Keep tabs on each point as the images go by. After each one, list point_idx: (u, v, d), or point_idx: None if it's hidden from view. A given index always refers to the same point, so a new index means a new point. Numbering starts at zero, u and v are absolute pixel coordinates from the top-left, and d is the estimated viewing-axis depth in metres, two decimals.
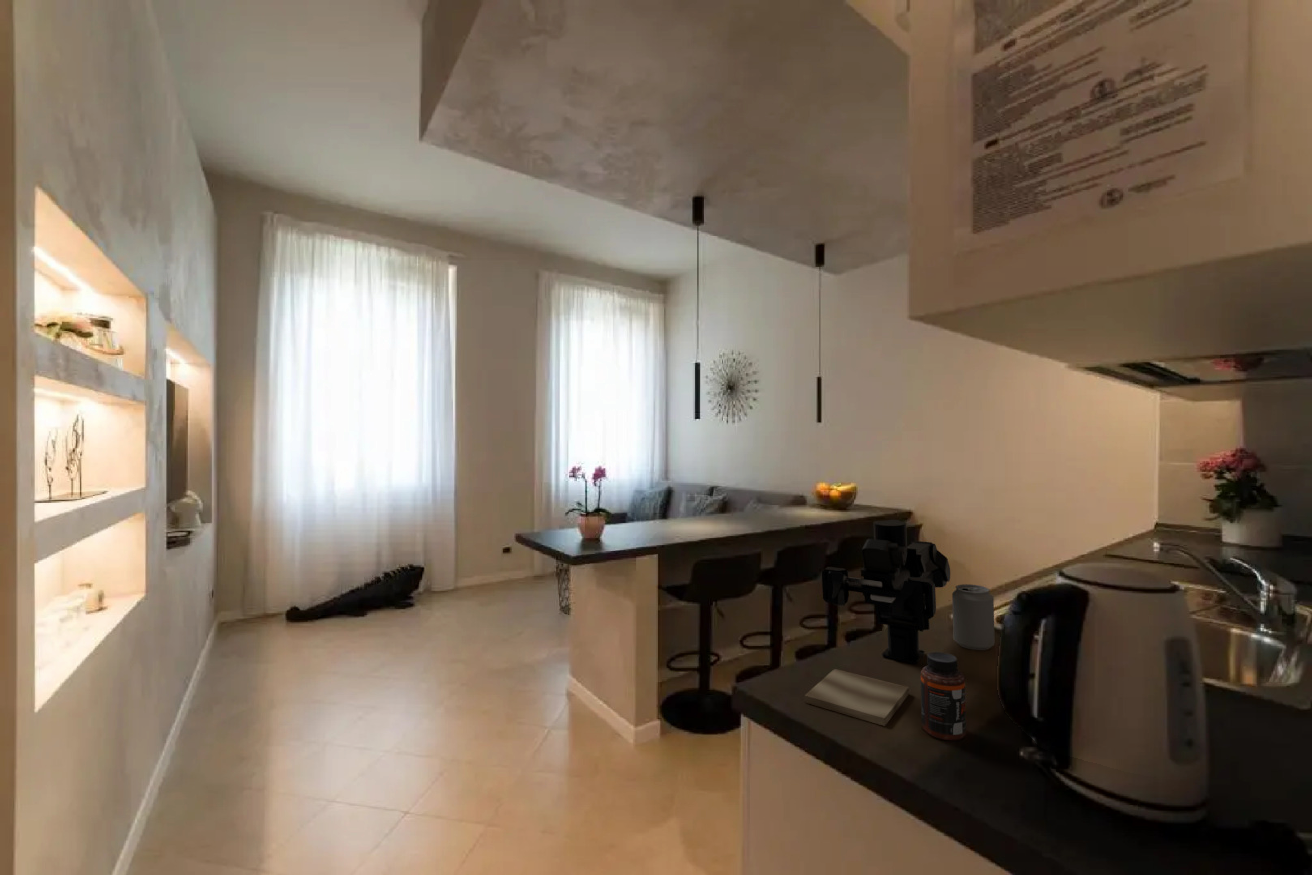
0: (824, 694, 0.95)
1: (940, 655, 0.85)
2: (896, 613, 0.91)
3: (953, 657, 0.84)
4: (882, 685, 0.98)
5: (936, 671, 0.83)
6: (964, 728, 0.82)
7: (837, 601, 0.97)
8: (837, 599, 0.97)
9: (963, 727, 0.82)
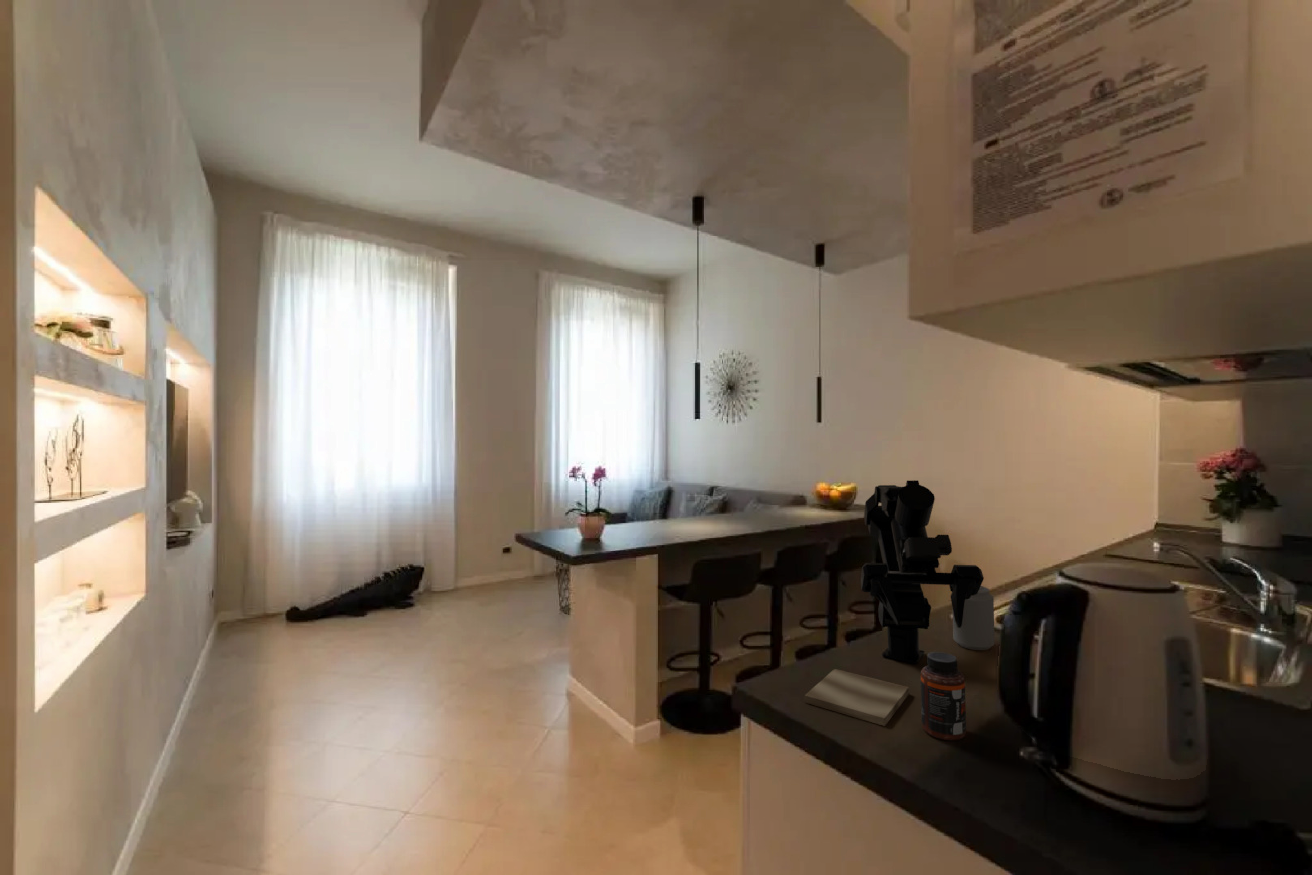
0: (824, 694, 0.95)
1: (940, 655, 0.85)
2: None
3: (953, 657, 0.84)
4: (882, 685, 0.98)
5: (936, 671, 0.83)
6: (964, 728, 0.82)
7: None
8: None
9: (963, 727, 0.82)
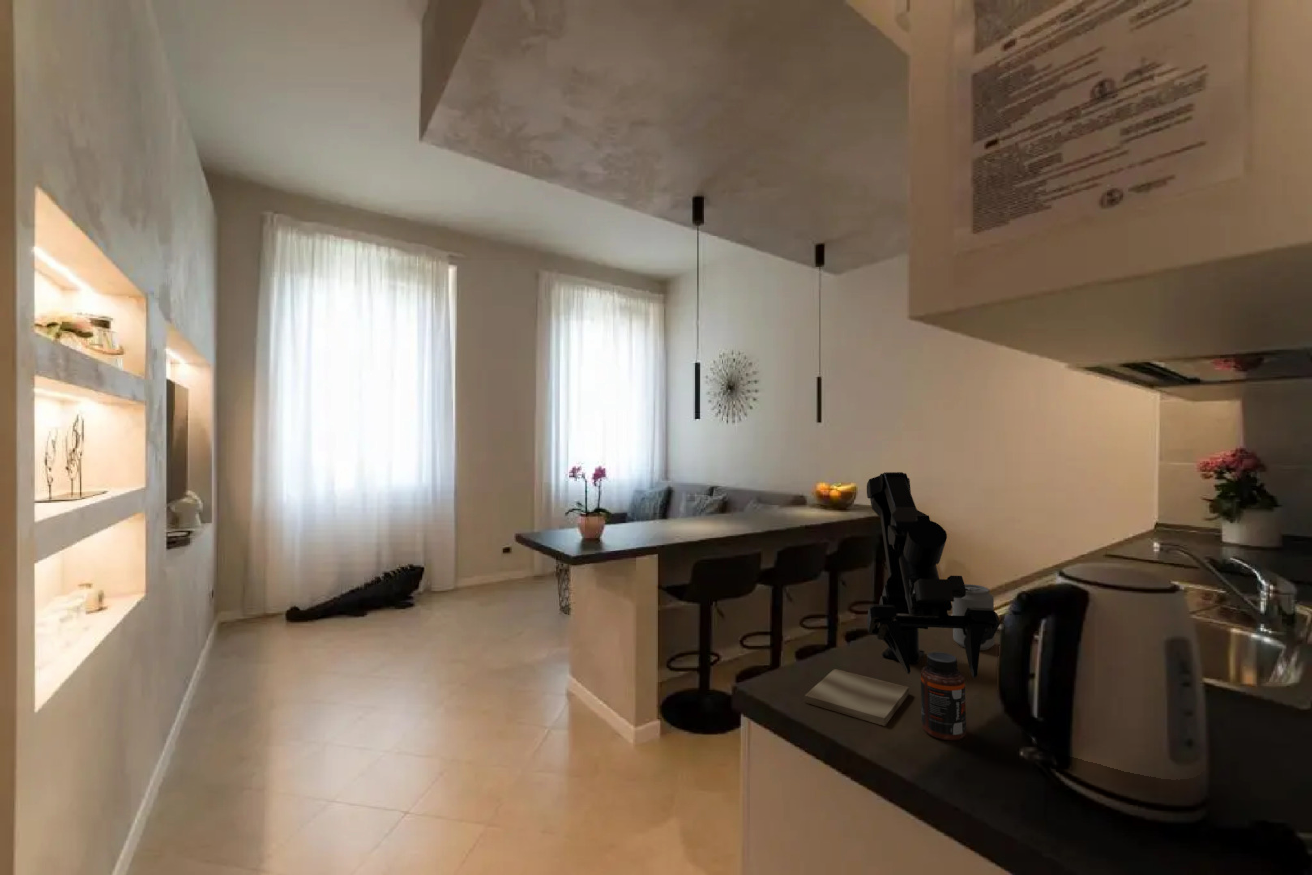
0: (824, 694, 0.95)
1: (940, 655, 0.85)
2: None
3: (953, 657, 0.84)
4: (882, 685, 0.98)
5: (936, 671, 0.83)
6: (964, 728, 0.82)
7: None
8: None
9: (963, 727, 0.82)
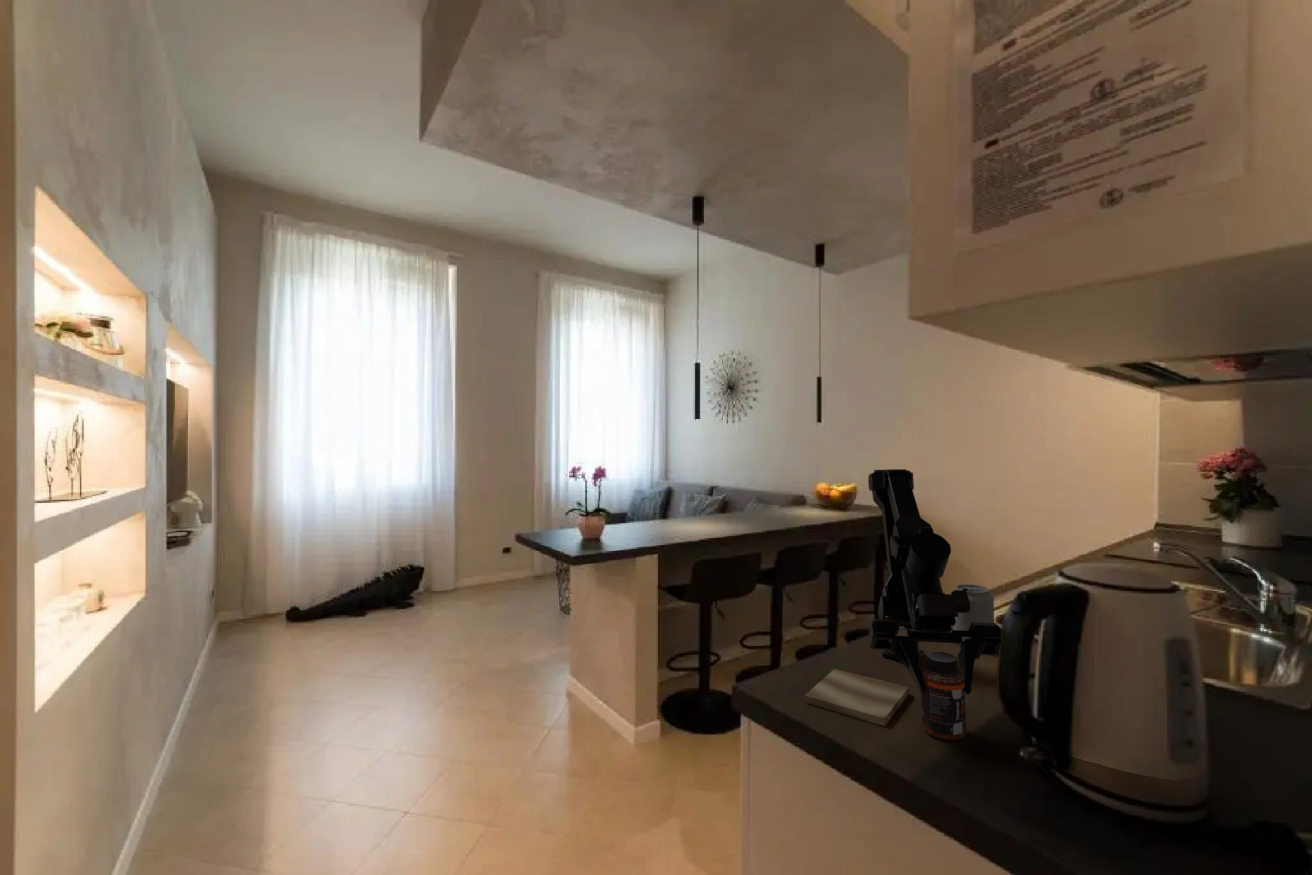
0: (824, 694, 0.95)
1: (940, 655, 0.85)
2: None
3: (953, 657, 0.84)
4: (882, 685, 0.98)
5: (936, 671, 0.83)
6: (964, 728, 0.82)
7: None
8: None
9: (963, 727, 0.82)
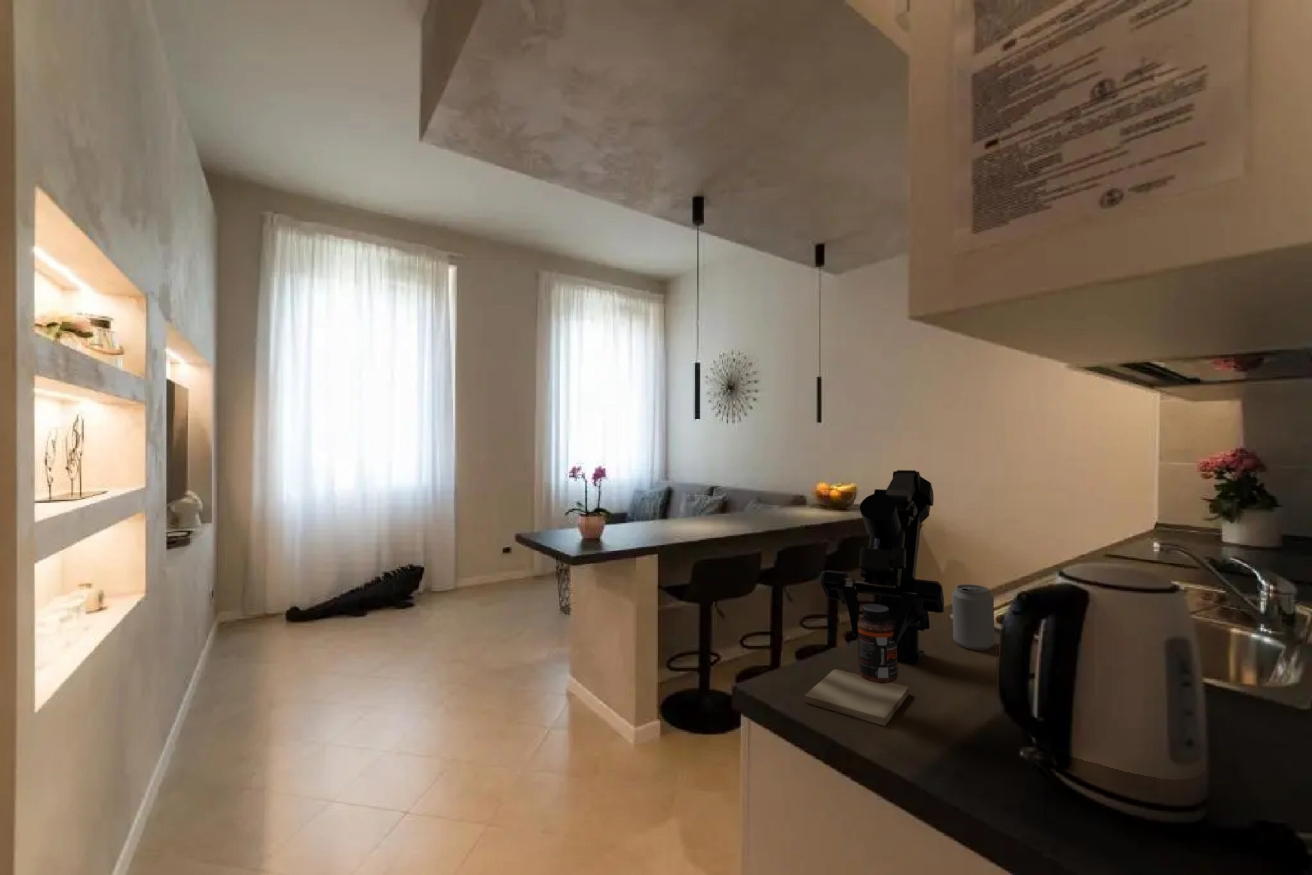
0: (824, 694, 0.95)
1: (875, 606, 0.92)
2: (901, 636, 0.90)
3: (885, 609, 0.90)
4: (882, 685, 0.98)
5: (866, 619, 0.91)
6: (891, 674, 0.89)
7: None
8: (856, 626, 0.93)
9: (890, 672, 0.89)
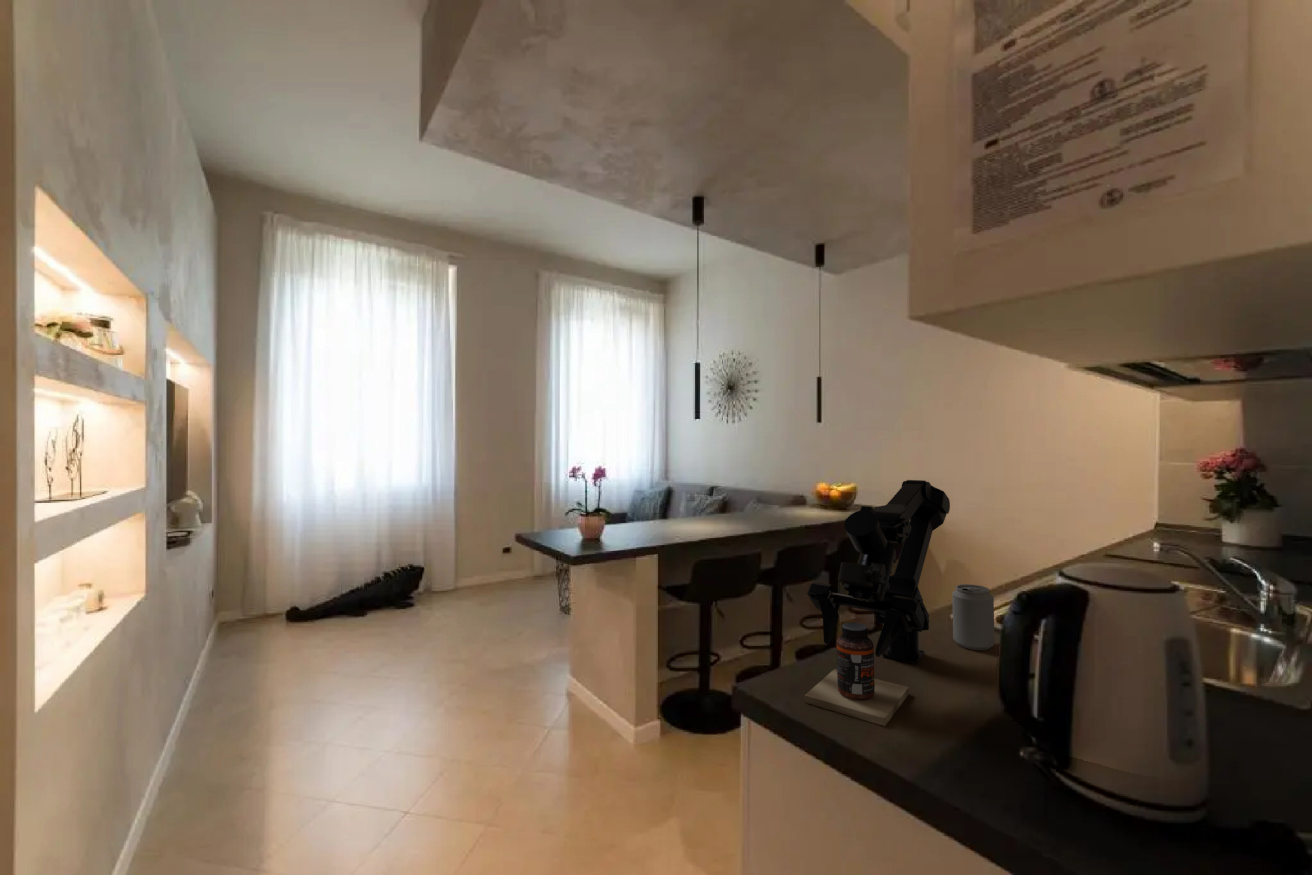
0: (824, 694, 0.95)
1: (854, 625, 0.95)
2: (883, 651, 0.92)
3: (863, 628, 0.94)
4: (882, 685, 0.98)
5: (843, 637, 0.95)
6: (865, 691, 0.92)
7: (829, 637, 0.98)
8: (829, 635, 0.98)
9: (864, 689, 0.92)
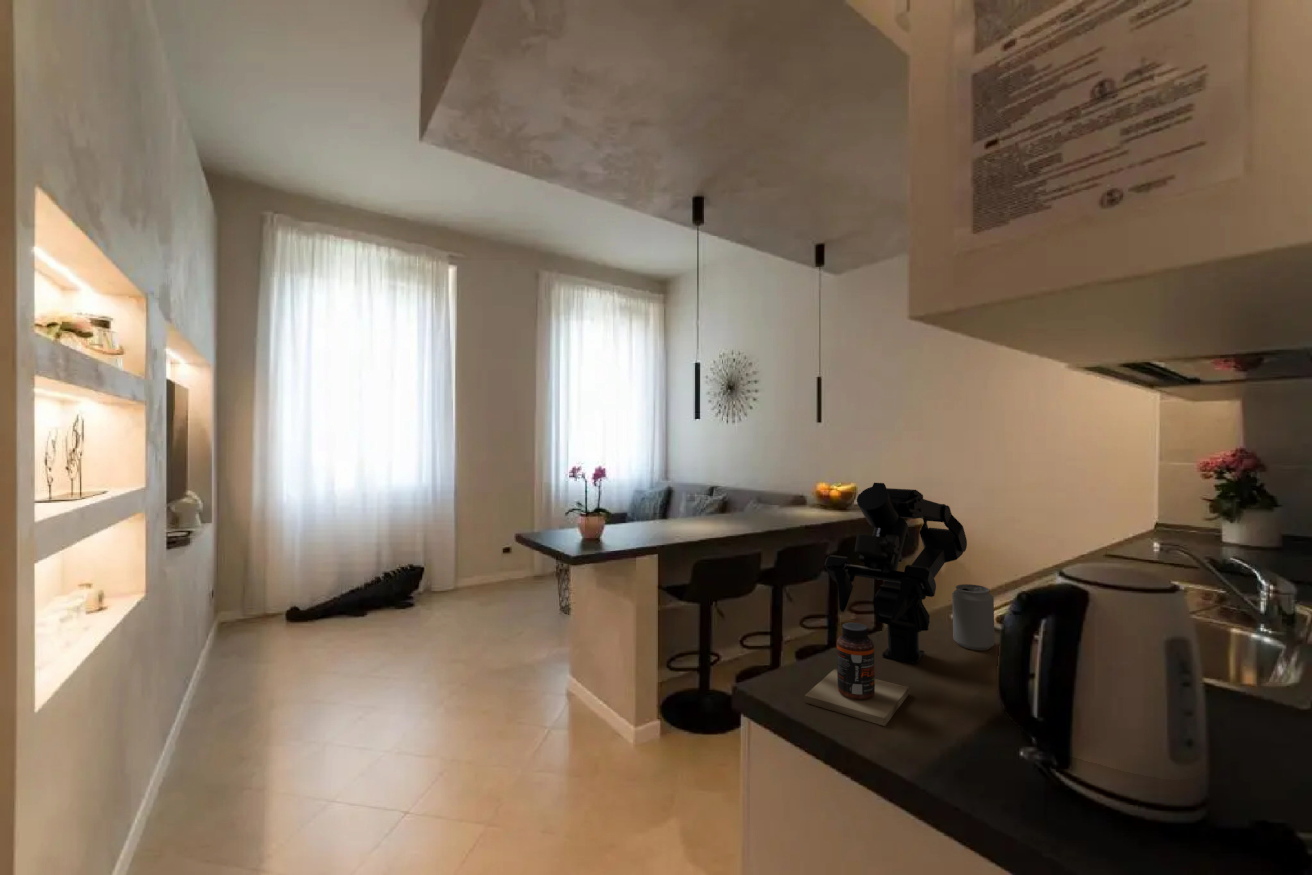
0: (824, 694, 0.95)
1: (854, 625, 0.95)
2: (899, 616, 0.98)
3: (863, 628, 0.94)
4: (882, 685, 0.98)
5: (844, 637, 0.95)
6: (865, 691, 0.92)
7: (845, 605, 1.04)
8: (844, 603, 1.04)
9: (864, 689, 0.92)
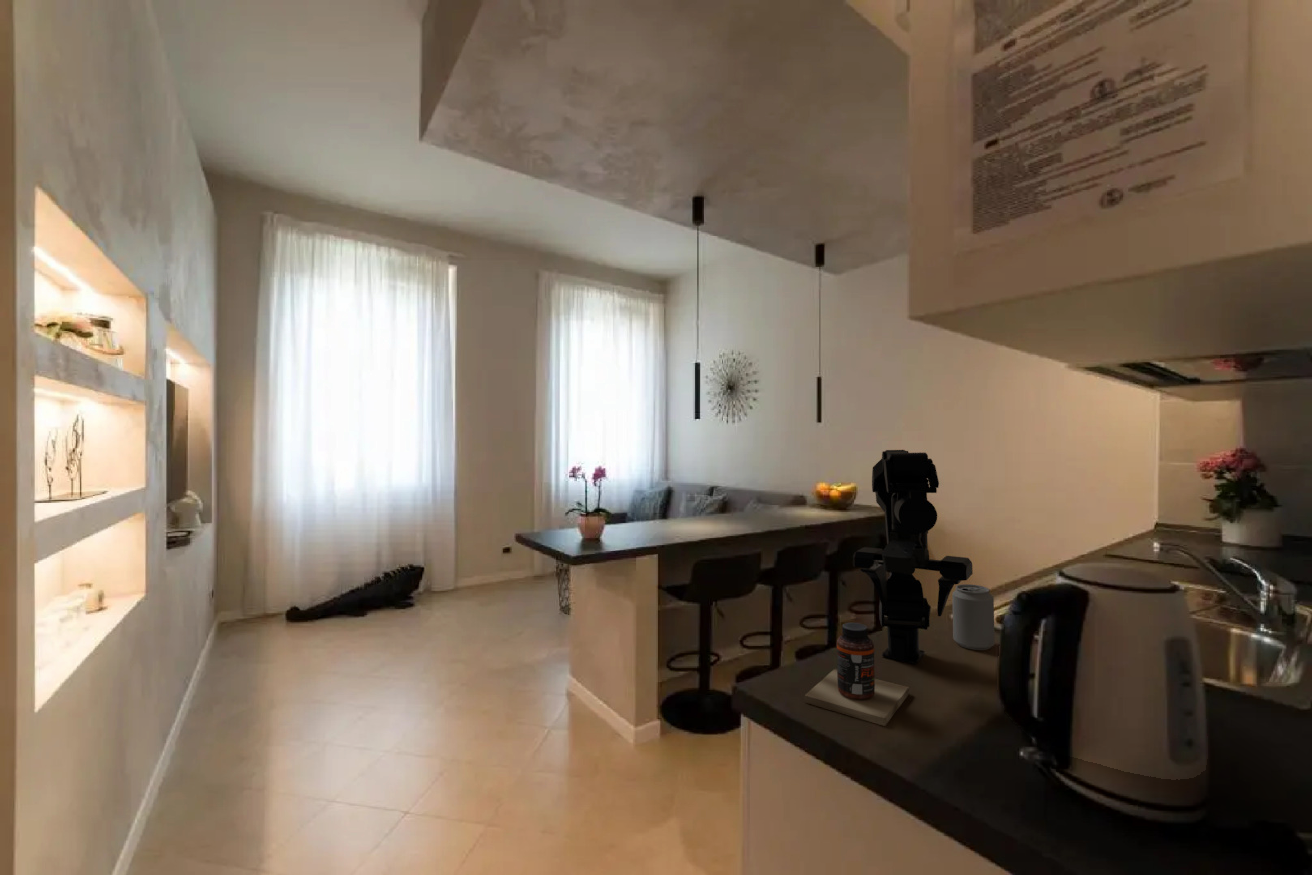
0: (824, 694, 0.95)
1: (854, 625, 0.95)
2: None
3: (863, 628, 0.94)
4: (882, 685, 0.98)
5: (844, 637, 0.95)
6: (865, 691, 0.92)
7: (886, 598, 1.04)
8: (885, 598, 1.03)
9: (864, 689, 0.92)
